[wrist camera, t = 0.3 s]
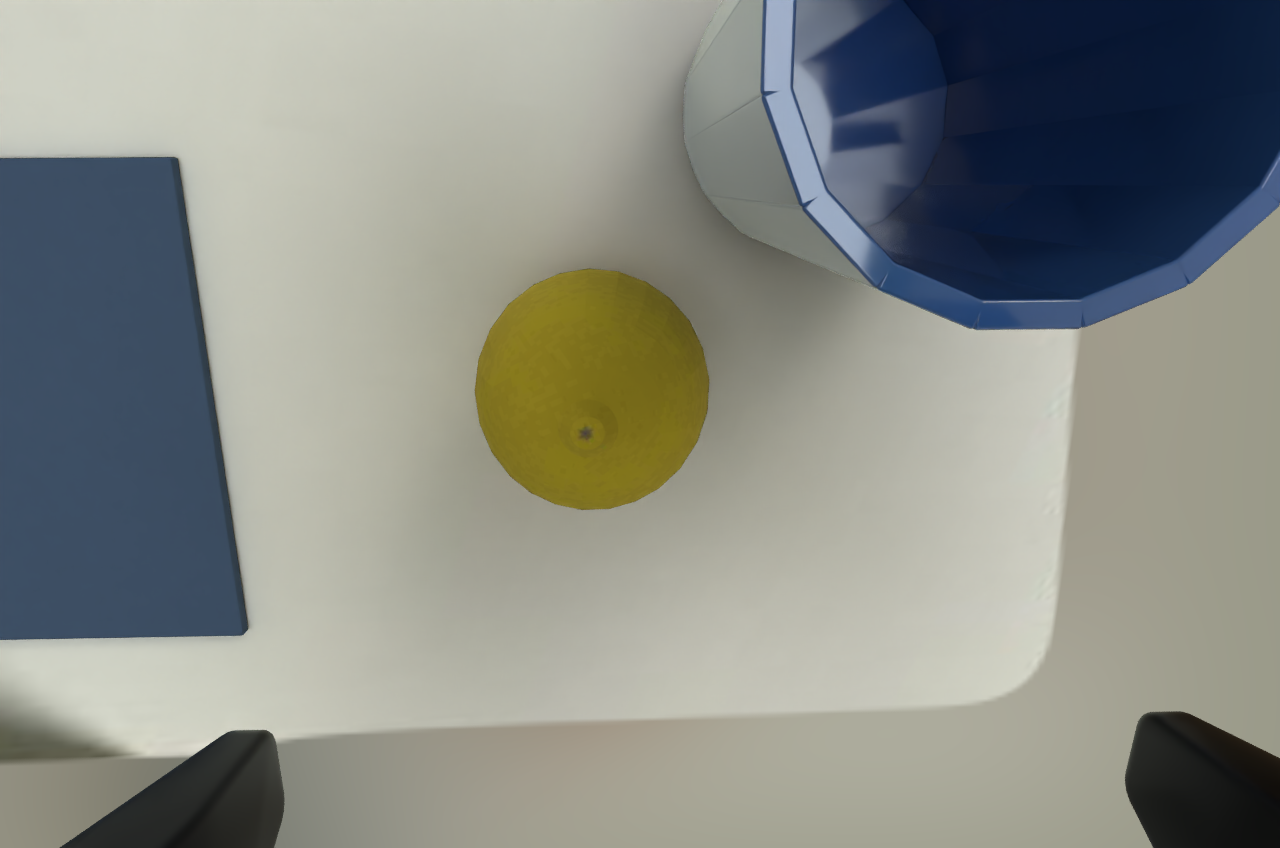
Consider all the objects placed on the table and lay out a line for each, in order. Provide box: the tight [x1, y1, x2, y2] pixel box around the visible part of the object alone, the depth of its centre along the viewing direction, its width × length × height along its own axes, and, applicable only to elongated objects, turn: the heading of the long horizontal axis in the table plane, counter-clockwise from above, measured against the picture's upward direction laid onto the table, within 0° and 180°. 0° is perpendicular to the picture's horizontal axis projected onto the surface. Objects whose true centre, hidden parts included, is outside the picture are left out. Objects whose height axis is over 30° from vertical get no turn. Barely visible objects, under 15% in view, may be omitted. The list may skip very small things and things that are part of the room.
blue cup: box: [683, 0, 1280, 330], centre depth 16 cm, size 7×7×13 cm
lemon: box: [475, 269, 709, 510], centre depth 20 cm, size 6×6×8 cm
